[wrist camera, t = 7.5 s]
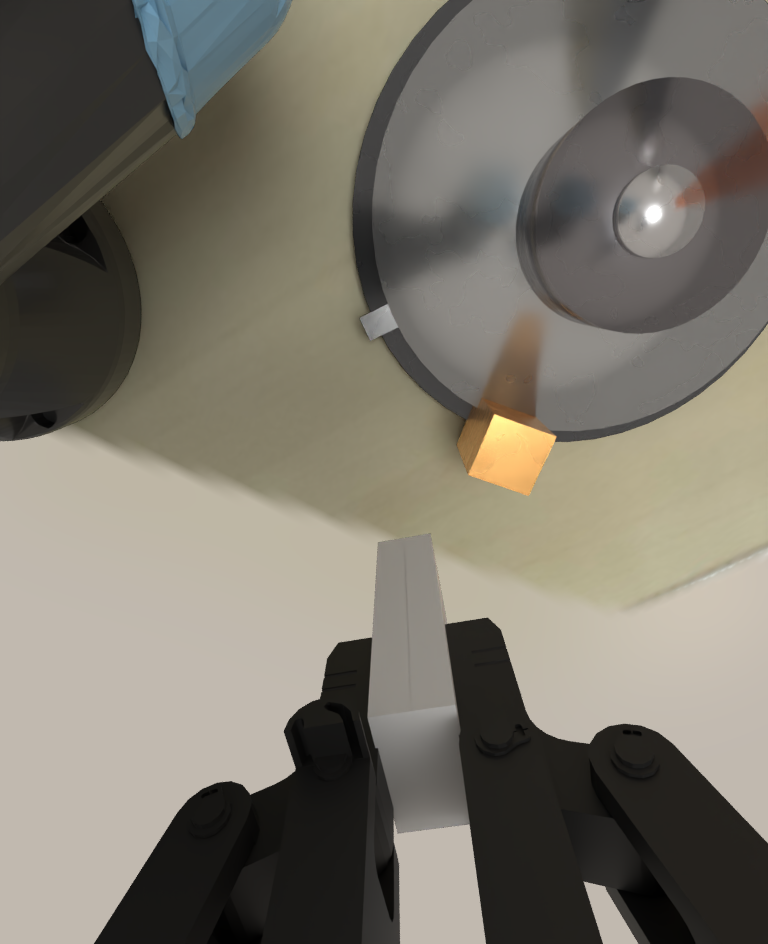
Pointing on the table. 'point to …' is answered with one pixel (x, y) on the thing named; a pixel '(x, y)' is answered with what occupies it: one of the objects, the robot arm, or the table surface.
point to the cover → (646, 207)
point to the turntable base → (366, 244)
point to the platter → (496, 206)
